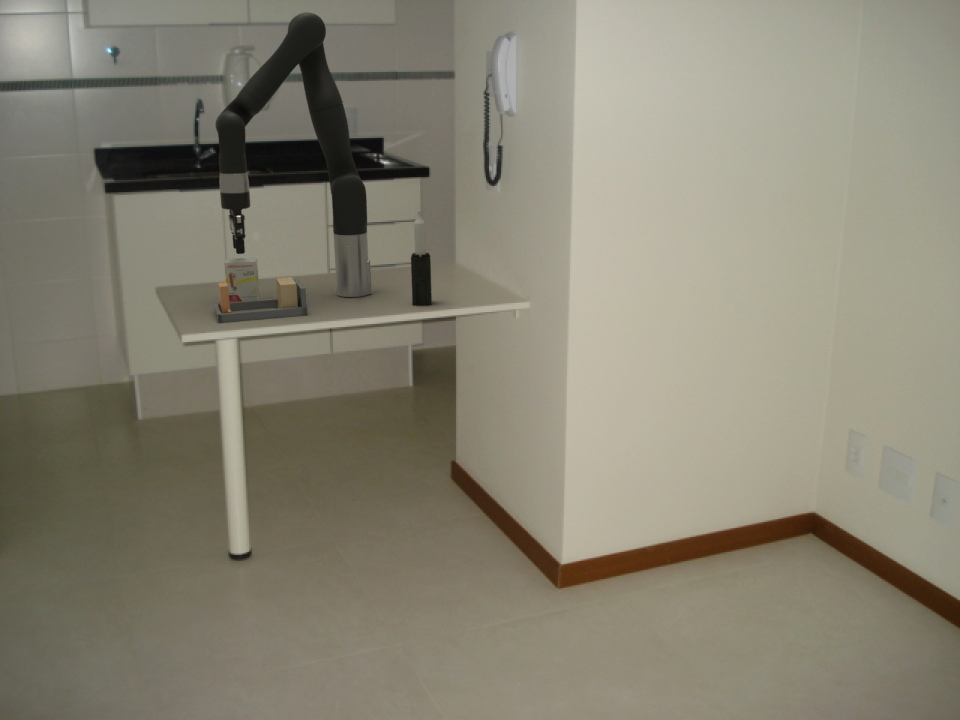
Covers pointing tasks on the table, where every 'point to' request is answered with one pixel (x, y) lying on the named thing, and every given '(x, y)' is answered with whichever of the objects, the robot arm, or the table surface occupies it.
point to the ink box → (242, 279)
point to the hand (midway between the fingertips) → (239, 250)
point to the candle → (420, 266)
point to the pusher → (224, 298)
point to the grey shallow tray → (263, 304)
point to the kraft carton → (286, 293)
